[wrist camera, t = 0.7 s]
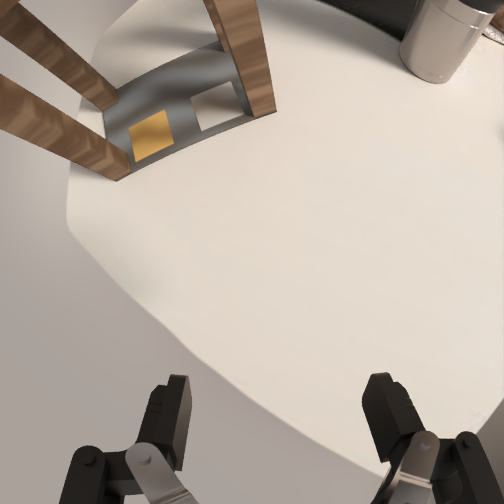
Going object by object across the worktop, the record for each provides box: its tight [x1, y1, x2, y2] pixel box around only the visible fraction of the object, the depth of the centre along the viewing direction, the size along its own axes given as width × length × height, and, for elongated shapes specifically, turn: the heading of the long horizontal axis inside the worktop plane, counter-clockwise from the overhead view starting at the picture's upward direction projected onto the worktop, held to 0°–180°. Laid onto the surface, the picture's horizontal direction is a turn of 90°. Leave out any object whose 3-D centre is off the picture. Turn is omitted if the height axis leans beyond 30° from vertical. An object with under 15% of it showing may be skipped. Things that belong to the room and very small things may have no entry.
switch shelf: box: [0, 0, 277, 181], centre depth 22 cm, size 16×24×32 cm, turn 109°
